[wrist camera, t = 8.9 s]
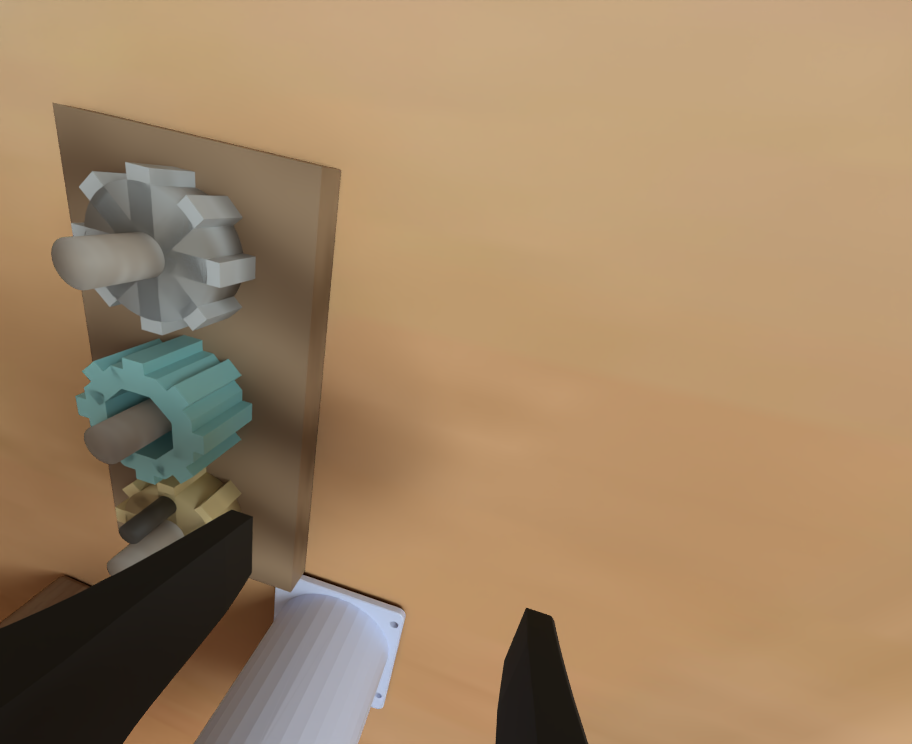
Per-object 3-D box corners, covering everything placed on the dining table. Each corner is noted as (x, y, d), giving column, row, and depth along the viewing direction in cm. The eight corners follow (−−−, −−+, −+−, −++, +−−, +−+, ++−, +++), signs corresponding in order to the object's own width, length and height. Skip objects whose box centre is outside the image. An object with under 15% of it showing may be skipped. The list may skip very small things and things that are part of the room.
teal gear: (251, 462, 21) (206, 501, 18) (146, 428, 21) (87, 462, 18) (253, 354, 18) (201, 381, 16) (135, 320, 19) (65, 340, 16)
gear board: (304, 571, 25) (236, 674, 20) (141, 515, 26) (34, 597, 21) (341, 169, 16) (235, 152, 11) (91, 110, 17) (-120, 67, 12)
